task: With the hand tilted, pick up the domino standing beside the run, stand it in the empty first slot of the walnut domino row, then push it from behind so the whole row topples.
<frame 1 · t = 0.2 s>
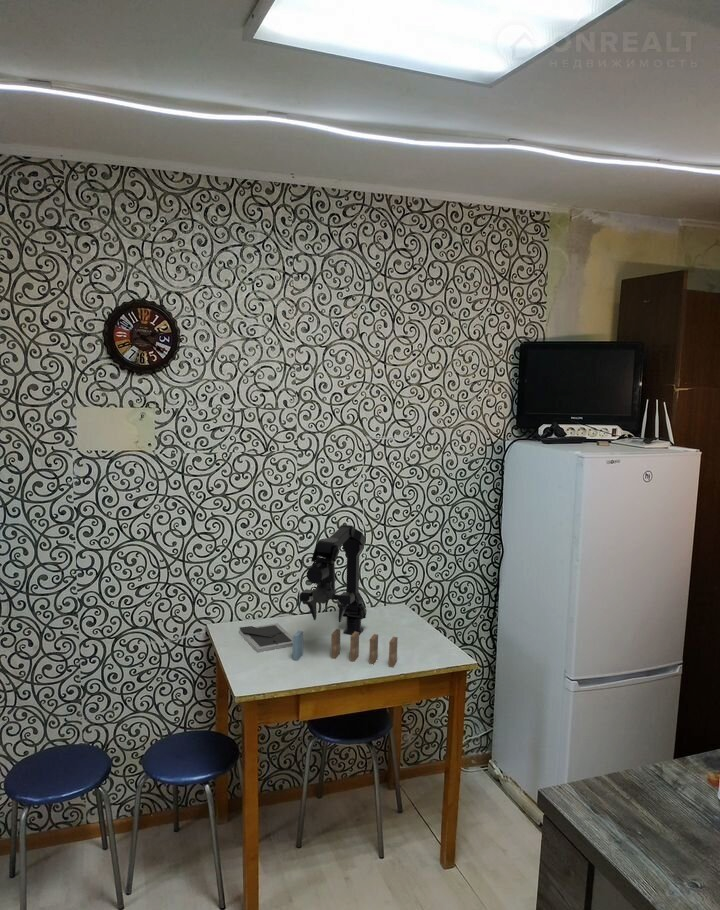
hand: (327, 621, 246), 14 cm above the table, tool pointing down, fingers open, 9 cm apart
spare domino: (297, 657, 248), on the table
domino 2: (335, 655, 251), on the table
picture frame: (268, 641, 265), on the table
domino 5: (392, 664, 244), on the table
domino 4: (373, 661, 247), on the table
domino 3: (354, 658, 249), on the table
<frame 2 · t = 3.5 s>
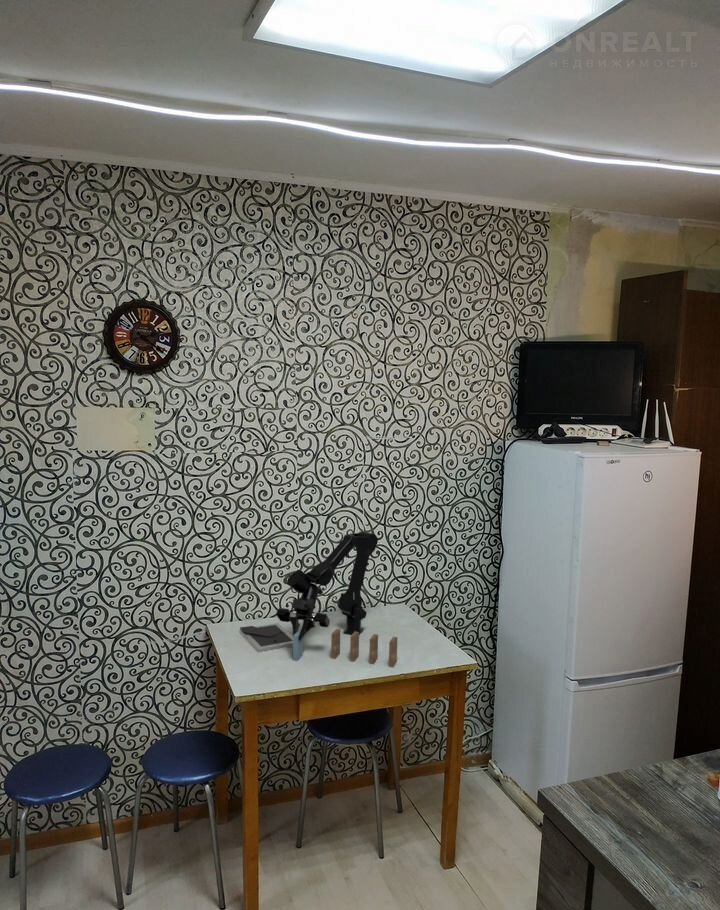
hand: (296, 639, 246), 7 cm above the table, tool tilted 45°, fingers closed on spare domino, 2 cm apart
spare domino: (297, 657, 248), on the table, touching gripper
everything else where it was.
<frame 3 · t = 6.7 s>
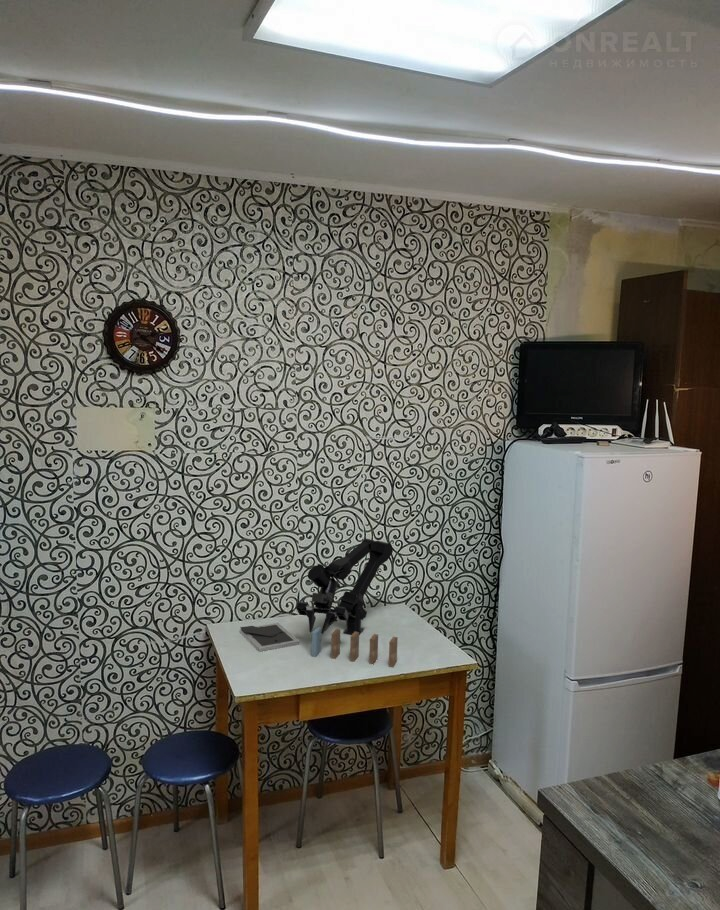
hand: (316, 632, 250), 8 cm above the table, tool tilted 45°, fingers open, 4 cm apart
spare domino: (316, 654, 252), on the table
everything else where it was.
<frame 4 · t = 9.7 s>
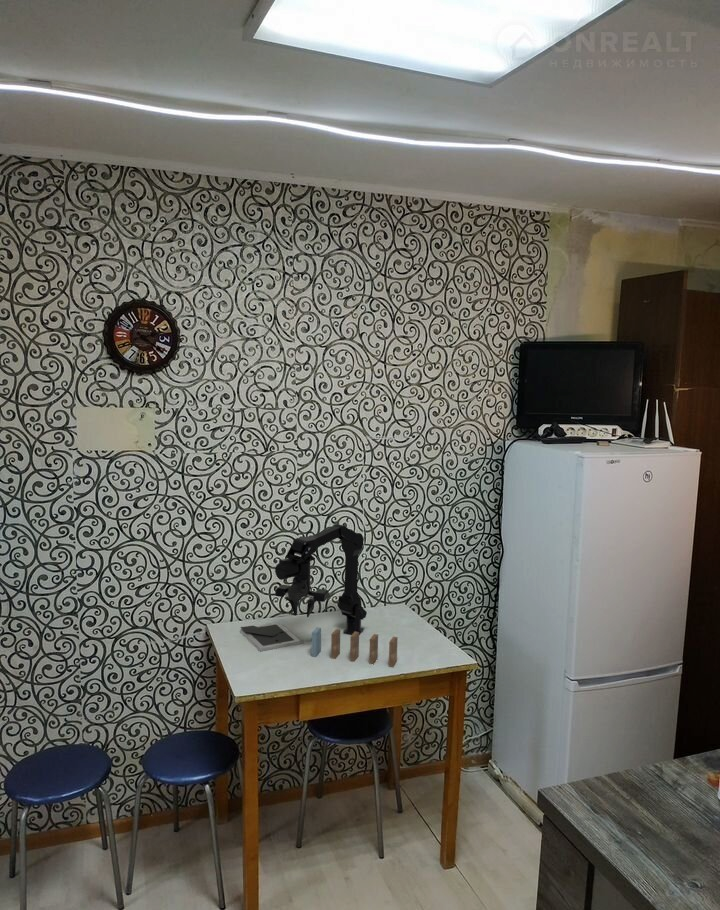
hand: (301, 616, 253), 13 cm above the table, tool pointing down, fingers open, 4 cm apart
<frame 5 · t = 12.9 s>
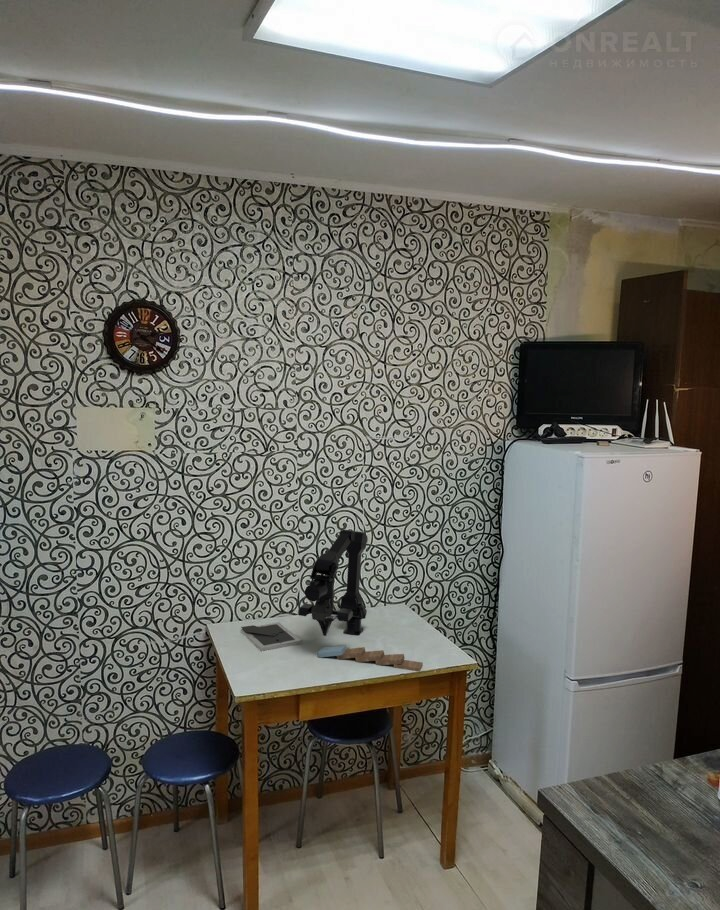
hand: (325, 635, 251), 7 cm above the table, tool pointing down, fingers closed
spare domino: (320, 652, 251), point 1 cm above the table, tilted 77°, touching domino 2
domino 2: (339, 654, 250), point 1 cm above the table, tilted 77°, touching domino 3, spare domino
domino 5: (395, 663, 244), on the table, tilted 90°
domino 4: (377, 660, 246), point 1 cm above the table, tilted 79°, touching domino 3
domino 3: (357, 657, 248), point 1 cm above the table, tilted 78°, touching domino 2, domino 4
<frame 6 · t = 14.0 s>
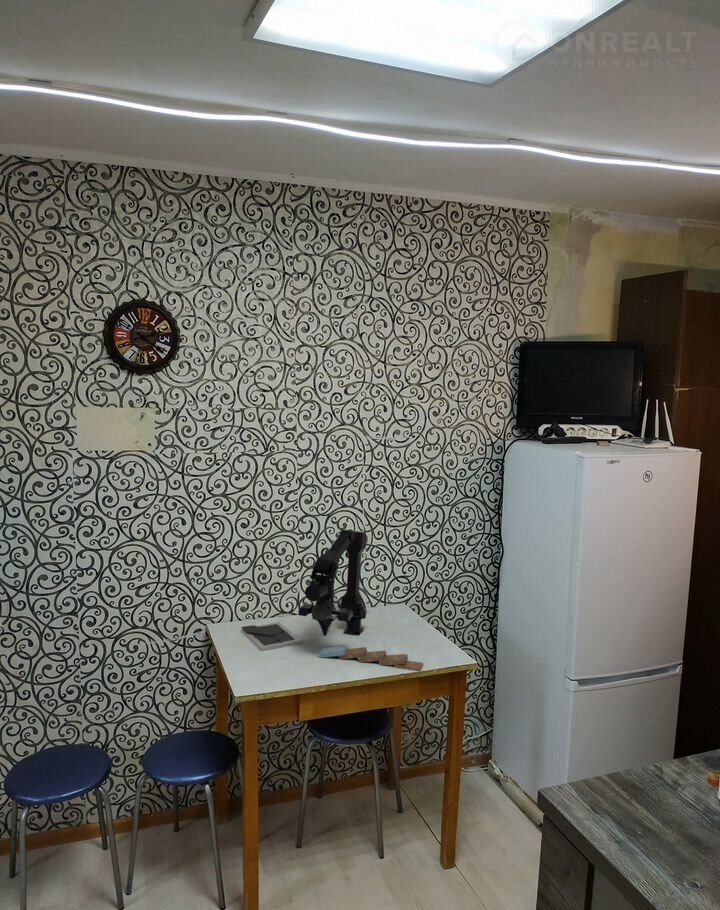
hand: (325, 635, 251), 7 cm above the table, tool pointing down, fingers closed
domino 4: (381, 660, 246), point 1 cm above the table, tilted 79°, touching domino 3
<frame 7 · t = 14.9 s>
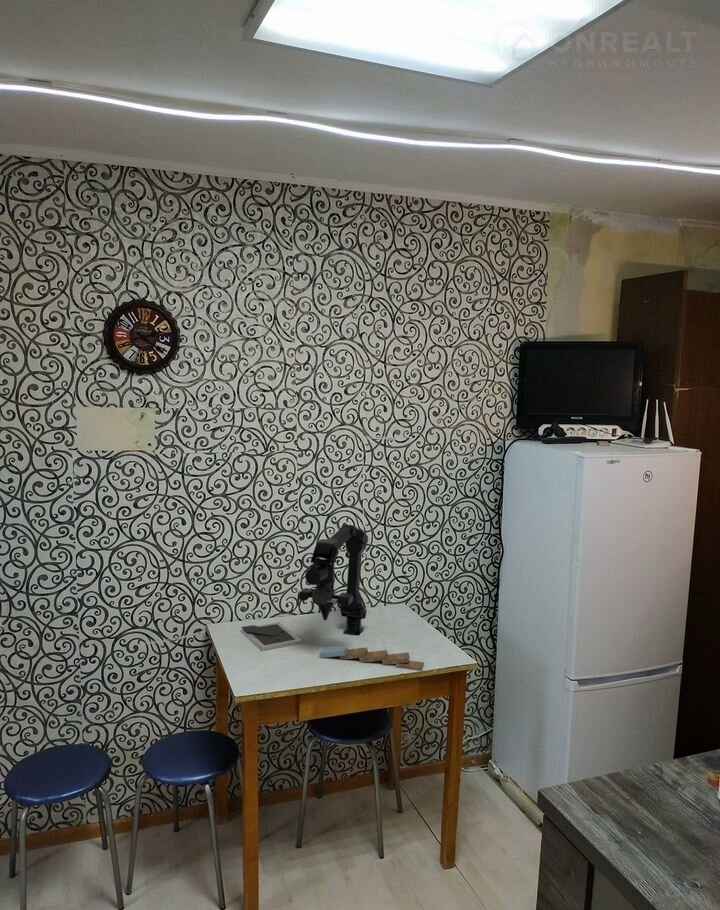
hand: (325, 620, 250), 13 cm above the table, tool pointing down, fingers closed
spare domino: (321, 652, 251), point 1 cm above the table, tilted 77°
domino 2: (341, 654, 250), point 1 cm above the table, tilted 77°, touching domino 3
domino 4: (383, 659, 246), point 1 cm above the table, tilted 80°
domino 3: (361, 657, 248), point 1 cm above the table, tilted 78°, touching domino 2
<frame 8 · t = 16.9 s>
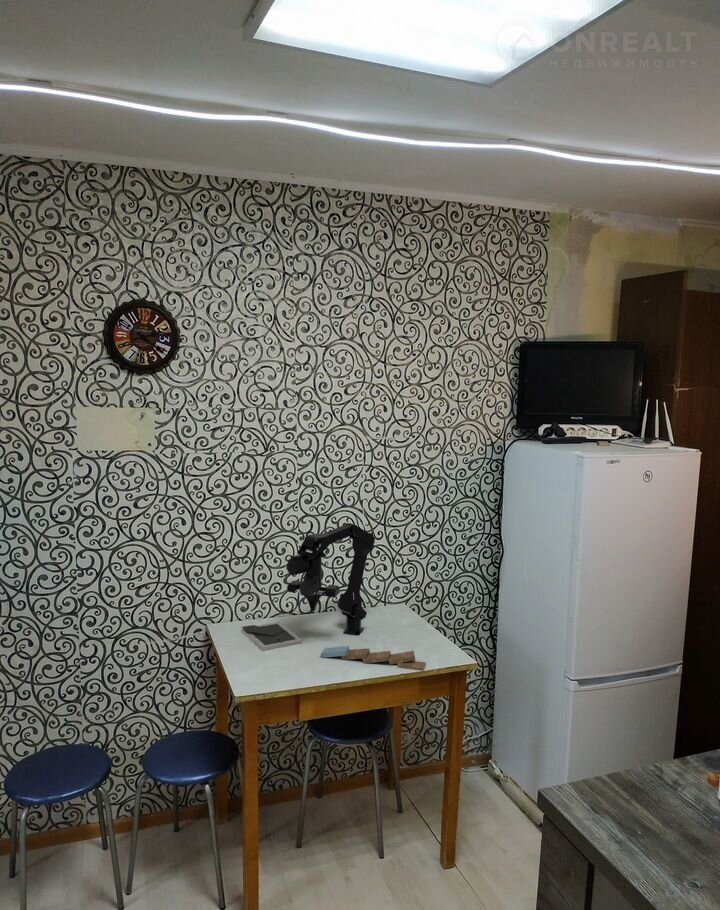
hand: (313, 611, 258), 13 cm above the table, tool pointing down, fingers closed
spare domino: (323, 652, 251), point 1 cm above the table, tilted 77°, touching domino 2
domino 2: (343, 654, 250), point 1 cm above the table, tilted 78°, touching domino 3, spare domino
domino 4: (389, 659, 246), point 1 cm above the table, tilted 78°, touching domino 3
domino 3: (364, 658, 247), point 1 cm above the table, tilted 78°, touching domino 2, domino 4
at the end: domino 5 tilted 90°; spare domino inside the target area (1.7 cm from its centre), point 0.8 cm above the table; the gripper is holding nothing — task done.
